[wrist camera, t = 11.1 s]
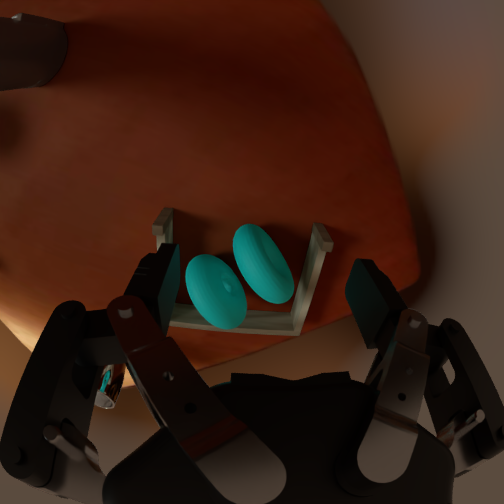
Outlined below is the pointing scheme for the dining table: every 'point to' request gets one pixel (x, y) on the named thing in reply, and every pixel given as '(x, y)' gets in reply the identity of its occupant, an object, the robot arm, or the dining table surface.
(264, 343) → the dining table surface
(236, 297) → the teal diabolo
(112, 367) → the beer glass
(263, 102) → the dining table surface
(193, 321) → the box
